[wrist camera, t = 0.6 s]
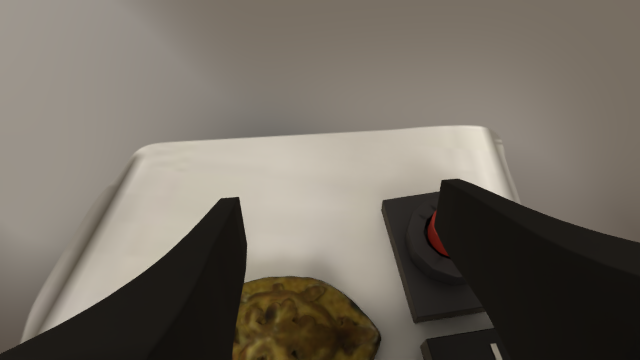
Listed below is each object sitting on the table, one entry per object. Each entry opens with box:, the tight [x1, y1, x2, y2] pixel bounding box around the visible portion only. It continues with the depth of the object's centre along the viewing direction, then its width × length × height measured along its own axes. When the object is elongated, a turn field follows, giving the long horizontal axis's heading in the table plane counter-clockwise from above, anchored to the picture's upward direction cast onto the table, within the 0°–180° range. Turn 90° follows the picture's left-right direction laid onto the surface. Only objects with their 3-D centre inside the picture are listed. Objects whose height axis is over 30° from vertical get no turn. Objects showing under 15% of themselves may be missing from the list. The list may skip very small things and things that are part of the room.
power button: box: [428, 211, 449, 257], centre depth 24 cm, size 4×4×2 cm
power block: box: [381, 191, 486, 323], centre depth 26 cm, size 10×8×4 cm
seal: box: [232, 276, 381, 360], centre depth 23 cm, size 9×5×15 cm
